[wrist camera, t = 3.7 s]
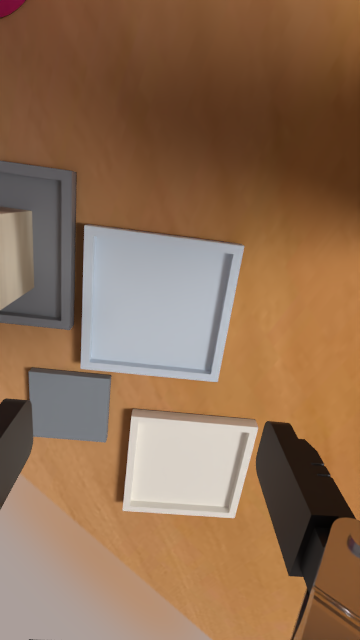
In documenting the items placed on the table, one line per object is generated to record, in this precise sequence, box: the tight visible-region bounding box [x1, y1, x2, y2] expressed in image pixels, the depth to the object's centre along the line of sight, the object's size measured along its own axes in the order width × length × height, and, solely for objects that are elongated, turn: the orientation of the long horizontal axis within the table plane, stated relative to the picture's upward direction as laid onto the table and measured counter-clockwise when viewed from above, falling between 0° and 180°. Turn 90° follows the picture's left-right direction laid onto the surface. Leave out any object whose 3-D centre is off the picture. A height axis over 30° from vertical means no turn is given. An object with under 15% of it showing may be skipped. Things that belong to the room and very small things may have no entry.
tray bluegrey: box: [81, 224, 244, 382], centre depth 23 cm, size 10×10×1 cm
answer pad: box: [29, 368, 111, 442], centre depth 26 cm, size 6×6×1 cm
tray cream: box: [123, 409, 258, 518], centre depth 28 cm, size 10×10×1 cm
